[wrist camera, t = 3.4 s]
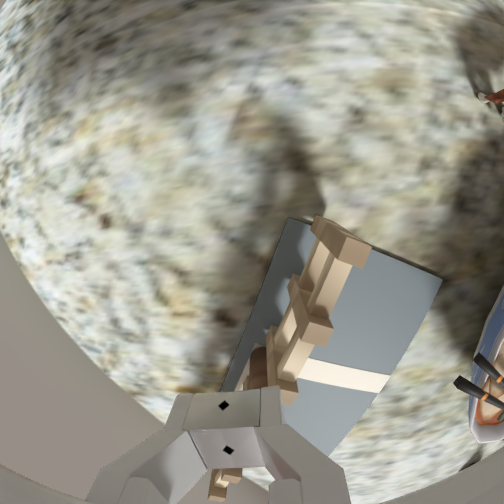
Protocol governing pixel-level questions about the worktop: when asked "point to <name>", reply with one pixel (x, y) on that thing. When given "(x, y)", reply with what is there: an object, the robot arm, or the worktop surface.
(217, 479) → the fixed fence panel
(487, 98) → the bull figurine
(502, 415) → the ramen bowl
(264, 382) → the corner post
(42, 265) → the worktop surface
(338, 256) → the gate panel
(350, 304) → the card
